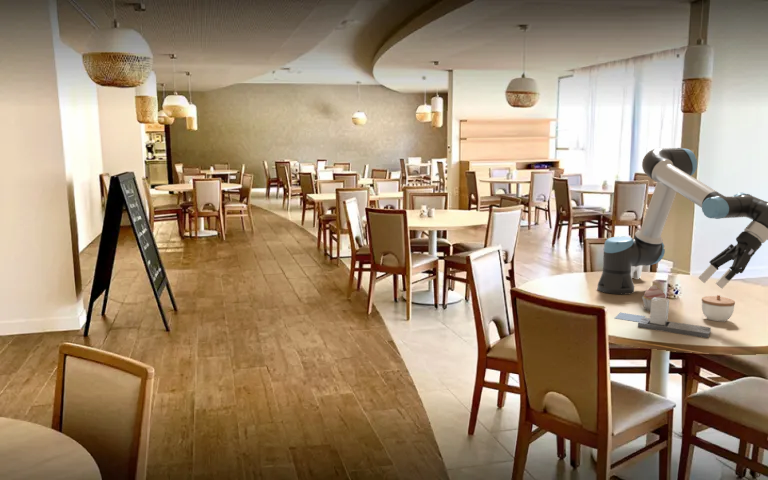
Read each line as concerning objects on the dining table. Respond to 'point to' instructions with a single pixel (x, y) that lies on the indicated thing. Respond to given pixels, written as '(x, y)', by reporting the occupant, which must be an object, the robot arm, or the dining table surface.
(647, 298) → the cupcake
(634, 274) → the cup with straw
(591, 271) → the dining table surface
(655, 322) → the nut block
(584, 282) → the dining table surface
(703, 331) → the rail
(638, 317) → the mat
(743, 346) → the dining table surface
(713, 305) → the lidded jar
